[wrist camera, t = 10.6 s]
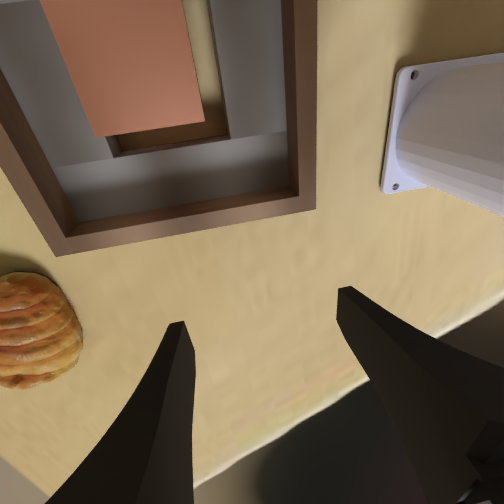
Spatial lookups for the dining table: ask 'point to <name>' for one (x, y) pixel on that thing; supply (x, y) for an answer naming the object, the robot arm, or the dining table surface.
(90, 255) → the dining table surface
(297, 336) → the dining table surface
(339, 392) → the dining table surface
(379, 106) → the dining table surface
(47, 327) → the pastry
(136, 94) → the peg
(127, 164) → the socket box
